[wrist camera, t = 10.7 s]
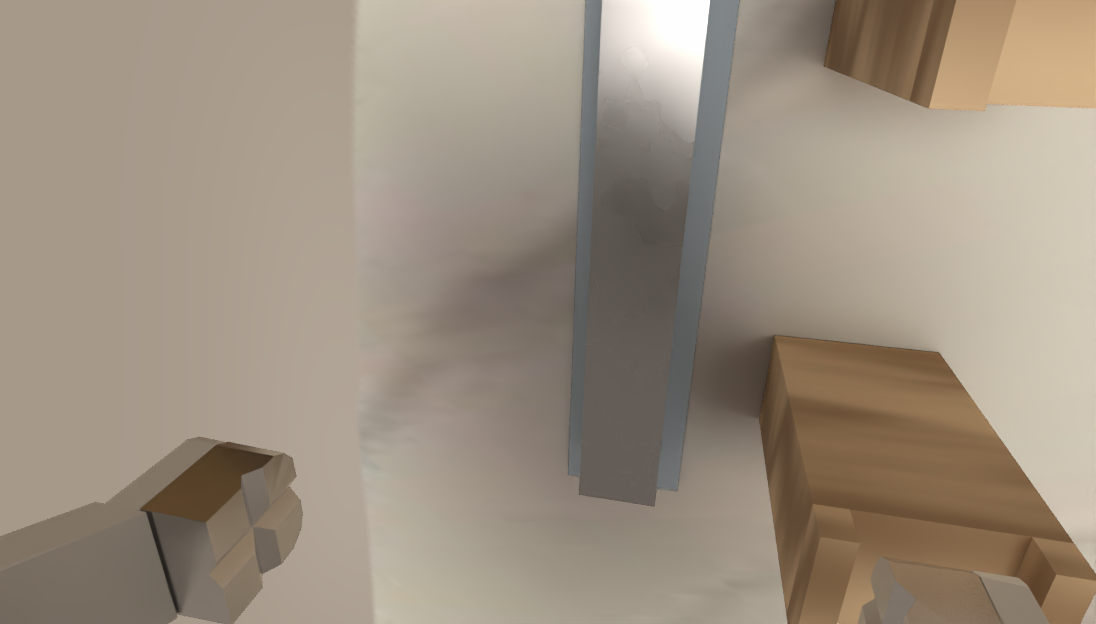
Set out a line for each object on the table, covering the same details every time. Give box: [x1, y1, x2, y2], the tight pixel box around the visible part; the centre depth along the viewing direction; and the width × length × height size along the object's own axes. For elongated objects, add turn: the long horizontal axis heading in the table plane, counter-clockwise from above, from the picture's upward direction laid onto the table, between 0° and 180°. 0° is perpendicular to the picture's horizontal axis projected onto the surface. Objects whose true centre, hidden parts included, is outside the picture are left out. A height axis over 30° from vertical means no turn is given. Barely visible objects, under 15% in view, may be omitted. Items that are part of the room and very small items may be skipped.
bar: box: [579, 0, 710, 506], centre depth 23 cm, size 22×3×4 cm, turn 179°
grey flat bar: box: [568, 0, 740, 491], centre depth 24 cm, size 26×5×1 cm, turn 179°
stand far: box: [759, 335, 1096, 624], centre depth 21 cm, size 4×6×11 cm, turn 89°
